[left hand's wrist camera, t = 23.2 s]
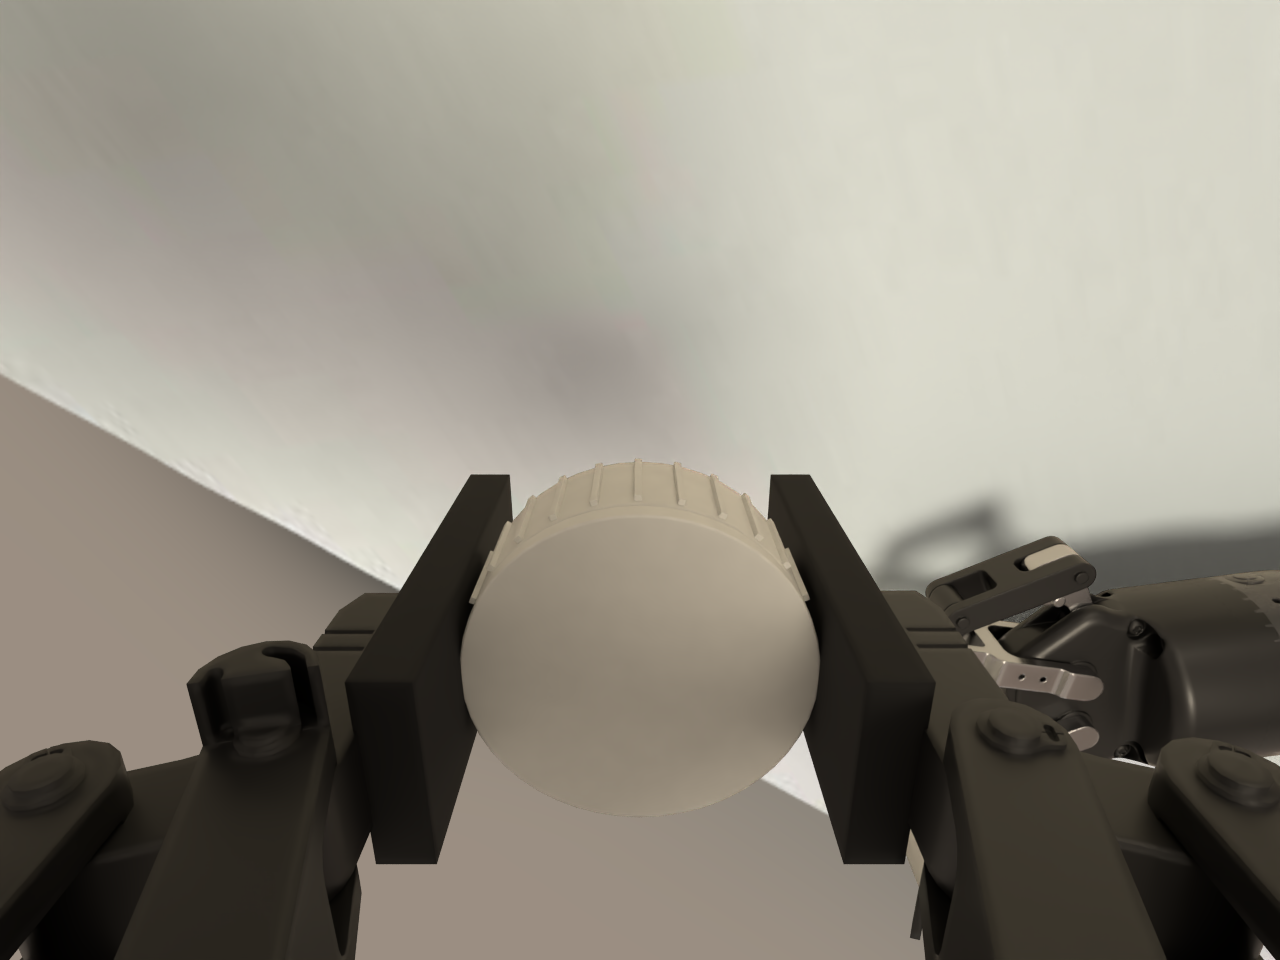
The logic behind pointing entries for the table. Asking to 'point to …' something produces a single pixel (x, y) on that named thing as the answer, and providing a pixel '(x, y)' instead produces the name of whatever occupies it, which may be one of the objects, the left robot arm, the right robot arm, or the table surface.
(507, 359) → the table surface
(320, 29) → the table surface
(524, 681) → the lid
